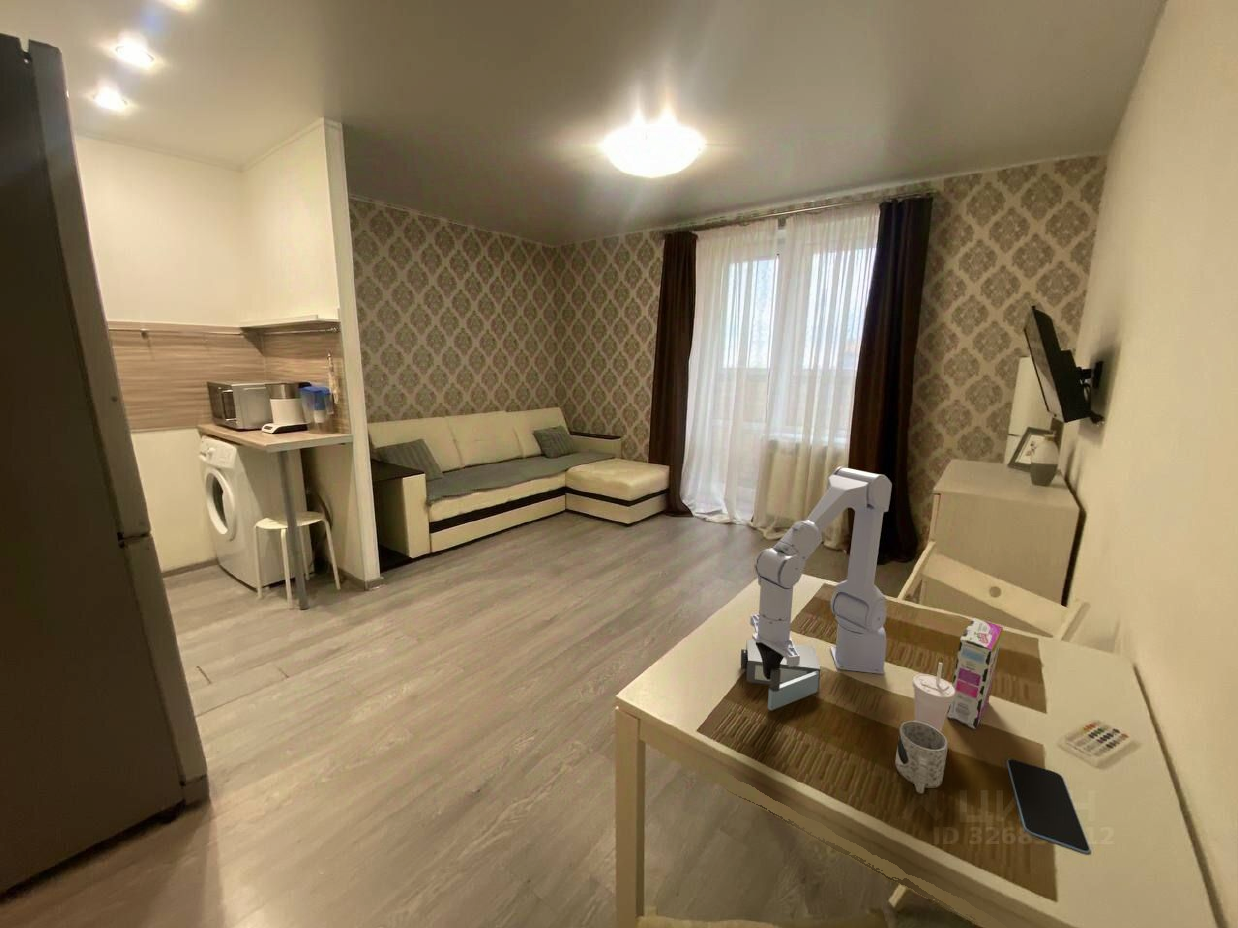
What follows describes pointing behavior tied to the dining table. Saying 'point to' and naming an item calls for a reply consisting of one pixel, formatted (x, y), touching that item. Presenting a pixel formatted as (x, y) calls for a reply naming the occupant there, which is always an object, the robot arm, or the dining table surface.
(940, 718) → the smoothie
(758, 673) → the camera housing
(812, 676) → the side door
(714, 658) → the dining table surface
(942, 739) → the mug
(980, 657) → the candy bar box
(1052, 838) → the smartphone
